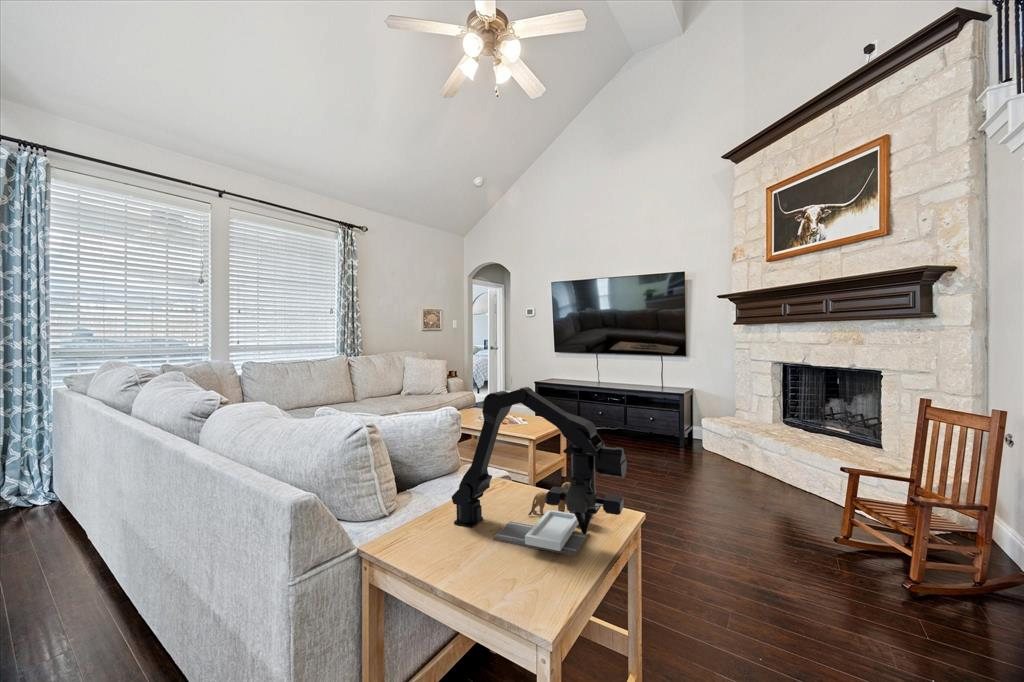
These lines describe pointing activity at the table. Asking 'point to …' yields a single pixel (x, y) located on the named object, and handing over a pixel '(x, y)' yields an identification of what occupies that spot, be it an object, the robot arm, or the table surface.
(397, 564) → the table surface
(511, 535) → the track mat
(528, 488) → the table surface
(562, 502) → the lion figurine
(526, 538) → the white rimmed tray
